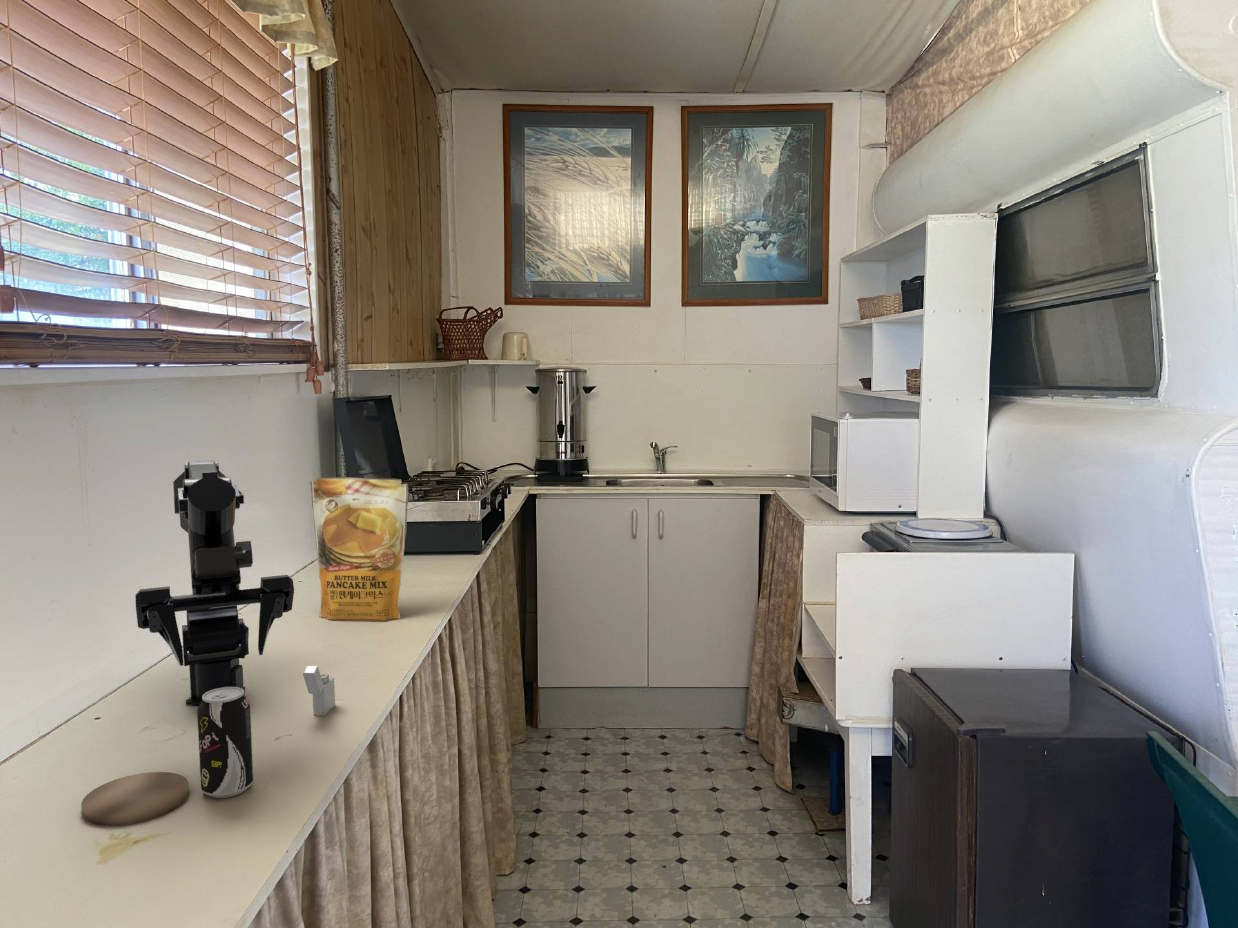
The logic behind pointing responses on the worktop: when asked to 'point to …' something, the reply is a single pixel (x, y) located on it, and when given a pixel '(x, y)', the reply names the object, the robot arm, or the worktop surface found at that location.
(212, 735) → the beverage can
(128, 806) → the bronze round coaster
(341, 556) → the pancake mix bag
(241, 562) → the robot arm
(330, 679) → the lighter
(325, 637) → the worktop surface
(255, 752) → the worktop surface
